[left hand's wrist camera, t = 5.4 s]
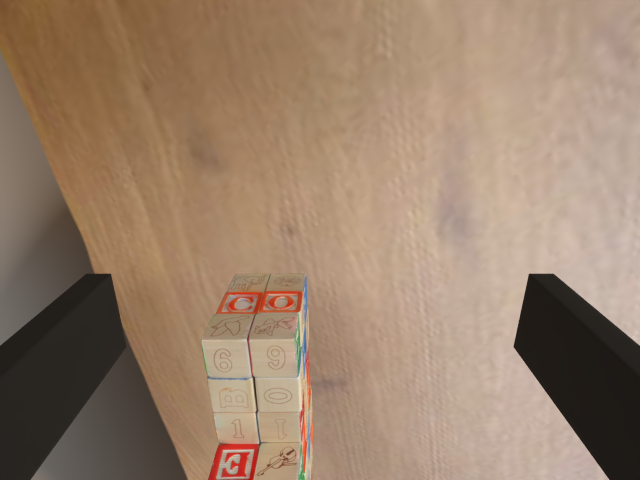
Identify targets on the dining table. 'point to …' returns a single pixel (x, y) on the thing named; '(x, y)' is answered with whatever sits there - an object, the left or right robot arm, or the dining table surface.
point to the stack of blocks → (261, 379)
